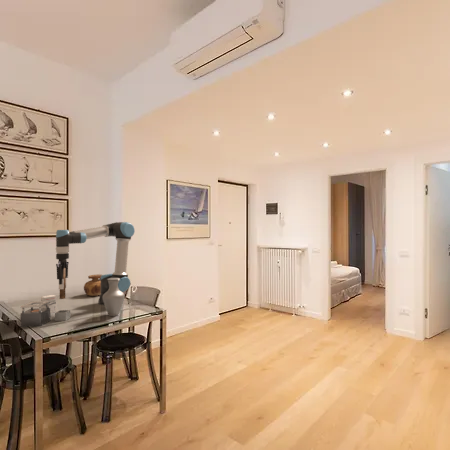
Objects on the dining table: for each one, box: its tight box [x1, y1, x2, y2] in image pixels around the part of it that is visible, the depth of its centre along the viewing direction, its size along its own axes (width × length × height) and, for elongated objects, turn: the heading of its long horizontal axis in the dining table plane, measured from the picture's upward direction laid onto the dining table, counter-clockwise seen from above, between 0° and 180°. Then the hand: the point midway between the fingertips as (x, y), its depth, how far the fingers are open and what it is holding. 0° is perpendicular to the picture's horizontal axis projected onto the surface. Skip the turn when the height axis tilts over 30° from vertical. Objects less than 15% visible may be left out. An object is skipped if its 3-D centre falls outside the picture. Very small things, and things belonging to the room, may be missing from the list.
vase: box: [103, 278, 125, 317], centre depth 217 cm, size 14×14×25 cm
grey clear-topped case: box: [20, 300, 51, 328], centre depth 199 cm, size 12×12×12 cm
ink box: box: [40, 294, 57, 314], centre depth 224 cm, size 9×5×12 cm, turn 148°
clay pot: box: [83, 273, 103, 297], centre depth 282 cm, size 19×19×20 cm
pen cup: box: [54, 309, 71, 322], centre depth 208 cm, size 7×7×5 cm
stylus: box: [59, 268, 66, 300], centre depth 208 cm, size 3×3×20 cm
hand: (62, 288), depth 208 cm, fingers closed on stylus, 3 cm apart
